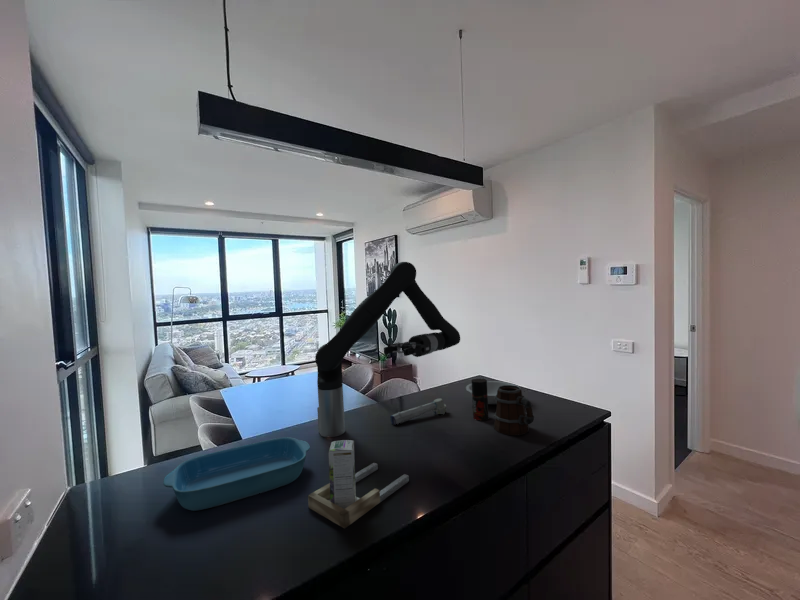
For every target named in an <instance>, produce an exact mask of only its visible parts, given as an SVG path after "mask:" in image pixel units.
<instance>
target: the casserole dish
mask: <svg viewBox="0 0 800 600" xmlns="http://www.w3.org/2000/svg"><path fill="white" fill-rule="evenodd" d="M310 449H311V446H310V444H309V443H308V442H307V441H305V440H301V439H297V438H295V437H290V436H289V437H287V436H286V437H275V438H272V439H267V440H262V441H257V442H254V443H253V442H252V443H248V444H244V445H240V446H236V447H232V448H227V449H223V450H219V451H214V452H210V453H206V454H203V455H199V456H196V457H192V458H189V459H187V460H185V461H183V462H181V463H180V464H178V465H177V467H175V469H173V470H172V471H170V472H169V473H168V474H167V475H166V476H165V477H164V479H163V486H164V487H166V488H171V489H172V490H173V493H174V495H175V496H176V499H177V502H178V503H179V505H180V506H181V507H182V508H183V509H185V510H189V511H191V512H195V511H197V512H198V511H201V510H206V509H210V508H215V507H219V506H222V505H224V504H225V505H226V504H229V503H232V502H236V501H240V500H242V499H243V500H244V499H245V498H249V497H252V496H257V495H258V494H259V493H260V494H263V493H265V492H269V491H271V490H275V489H278V488H281V487H283V486H287V485H290V484H291V483H293V482H295V481H296V480H297V479H298V478H299V477H300V476H301V473H302V472H303V468H304V466H305V461H306V457H307V453H308V451H310Z"/></svg>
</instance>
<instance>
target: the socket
mask: <svg viewBox="0 0 800 600" xmlns="http://www.w3.org/2000/svg"><path fill="white" fill-rule="evenodd" d="M380 491H381V490H380V489H378V488H373V489H372V490H370V491H369V492H367V493H366V494H365V495H363V496H362V497H358V496H356V499H355V502H354V503H353V504H351V505H350V506H348V507H347V508H345V509H343V508H342V507H340V506H338V505H336V504H334V503H332V502H330V482H329V483H327V484H325V485H323V486H322V487H320V488H319V489H317V490H315V491H313V492H311V493H309V494H308V495H307V499H308V500H307V502H308V503H307V504H308V509H310V510H312V511H313V512H315V513H317V514H318V515H320V516H322V517H324V518H326V519H328V520H329V521H331V522H332V523H333V524H336V525H337V526H339V527H341V528H342V529H346V528H348V527H349V526H350V525H352V524H353V523H354V522H356V521H357V520H358V519H359V518H361V517H362V516H364V515H365V514H366V513H368V512H369V511H370V510H372V509H373V508H374V507H376V506H377V505H379V504H380V503H381V502H380Z"/></svg>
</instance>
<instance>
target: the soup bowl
mask: <svg viewBox="0 0 800 600" xmlns="http://www.w3.org/2000/svg"><path fill="white" fill-rule="evenodd" d="M503 385H513V386H517V387H520V386H519V385H518V384H516V383H511V382H507V381H499V380H487V395H488V405H497V400H495V396H496V394H497V390H498V388H499V387H500V386H503ZM465 389H466V391H467V392H468V393H470V395H471V396H472V383H469V384H467V385H466V386H465ZM520 389H521V387H520ZM521 390H522V389H521Z"/></svg>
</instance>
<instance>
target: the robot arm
mask: <svg viewBox="0 0 800 600" xmlns="http://www.w3.org/2000/svg"><path fill="white" fill-rule="evenodd" d="M416 278H417V269H416V267H415V265H414V264H412V263H411V262H408V261H401V262H398V263H395V264H393V266H392V267H391V269H390V272H389V275H388V276H387V278H386V279H385V280H384V281H383V283H382V284H381V285H380V286H379V287H378V288H377V289H375V290H374V291H373V292H371V293H370V294H369V295H368V296H367V297H365V298H364V299H363V300H362V301H361V302H360V304H358V305H357V307H356V308H355V309H354V310H353V311H352V312H351V314H350V315H349V316H348V318H347V319H346V320H345V322H344V324H343V325H342V326H341V327H340V329H339V331H338V332H337V333H336V334H335V335H334V336H333V337H332V338H331V339H330V340H329V341H328V342H327V343H324V344H323V345H321V346H320V347H319V348H318V350H317V352H316V354H315V356H314V358H315V359H314V360H315V364H316V366H317V367H316V369H317V382H316V383H317V385H316V386H317V400H318V407H317V426H318V428H317V429H318V433H319V434H320V436H321V437H324V438H335V437H338V436H341V435H343V434H344V433H345V432H346V424H345V421H346V420H345V405H344V387H343V363H342V360H343V359H344V358H345V356H346V355H347V354H348V352H349V351H350V350H351V349H352V348H353V346H354V345H355V344H356V343H357V342H358V341H359V340H360V339H362V338H363V336H365V335H366V334H367V333H368V332H369V331H370V329H372V327H374V326H375V324H376V323H377V322H378V321H379V320H380V318H381V317H382V316H383V315H384V313H386V311H388V309H389V307H390V306H391V305H392V304H393V302H394V301H395V299H396V298H397V297H399V295H401V294H402V293H403V294H404V295H405V296H406V297H407V298H408V299H409V301H410V302H411V303H412V305H413V306H414V309H415V310H416V311H417V312H418V314H419V316H420V317H421V319H422V320H423V322H424V323H425V325H426V326H427V328H428V329H429V330H430V331H439V332H430V333H422V334H417V335H413V336H411V337H410V338H409V339H408V341H404V342H395V343H390V344H389V343H388V344H387V346H386V347H385V346H384V347H383V354H384V355H388V354H393V353H397V354H403V355H404V356H405V357H407V356H410V355H411V356H412V357H416V358H419V357H422V356H426V355H429V354H432V353H434V352H438V351H443V350H447V349H449V348H451V347H454V346H456V345H459V343H460V342H461V335H460V332H459V330H458V329H457V328H456V327H455V326H454V325H452V323H450V322H449V321H448V320H446V318H444V317H443V315H442V314H441V312H440V310H439V309H438V308H437V306H436V305H435V304H434V303H433V301H432V300H431V299H430V298H429V297H428V296H427V295H426V294H425V293H424V291H423V290H422V289H421V287H419V284H418V282H417V281H416Z"/></svg>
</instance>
